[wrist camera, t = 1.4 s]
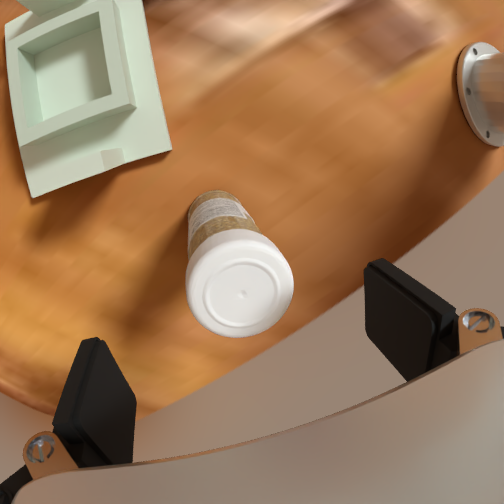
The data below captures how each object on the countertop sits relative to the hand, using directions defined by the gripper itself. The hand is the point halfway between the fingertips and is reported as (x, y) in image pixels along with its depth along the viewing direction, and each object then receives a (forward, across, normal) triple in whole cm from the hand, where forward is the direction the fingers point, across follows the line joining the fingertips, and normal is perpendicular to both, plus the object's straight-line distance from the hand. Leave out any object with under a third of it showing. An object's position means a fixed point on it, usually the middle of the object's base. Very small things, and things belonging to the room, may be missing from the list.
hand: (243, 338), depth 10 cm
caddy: (+16, +7, -14) cm, 23 cm away
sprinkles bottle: (+16, -1, 0) cm, 16 cm away
